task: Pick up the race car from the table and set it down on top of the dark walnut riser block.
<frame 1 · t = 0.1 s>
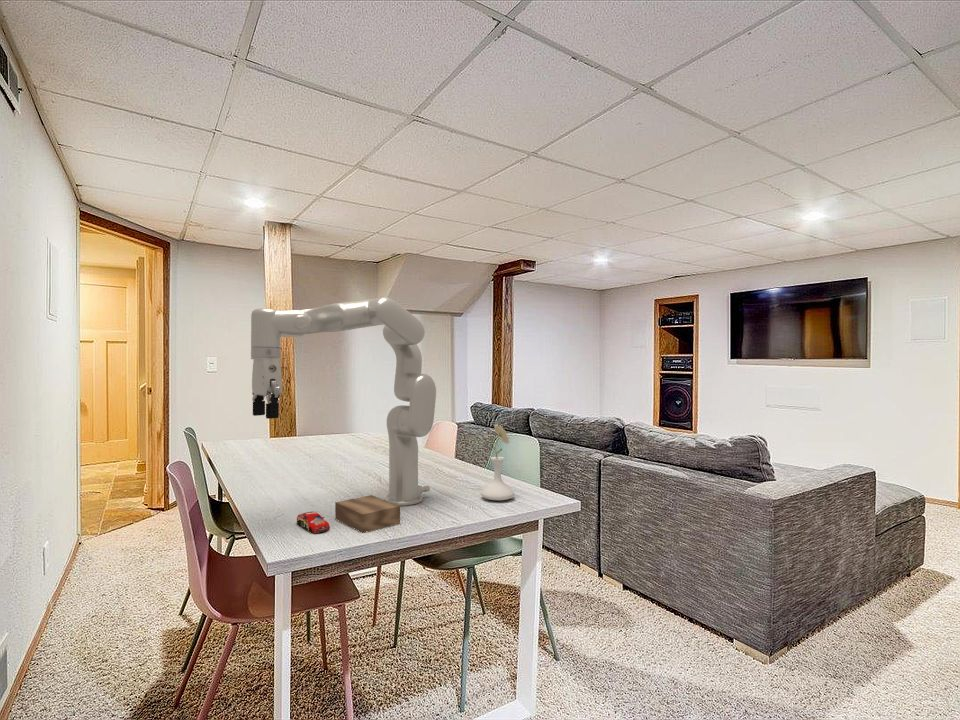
hand: (265, 416, 139), 31 cm above the table, tool pointing down, fingers open, 9 cm apart
flower in vase: (497, 498, 173), on the table
race car: (312, 529, 142), on the table
walnut riser block: (367, 521, 147), on the table
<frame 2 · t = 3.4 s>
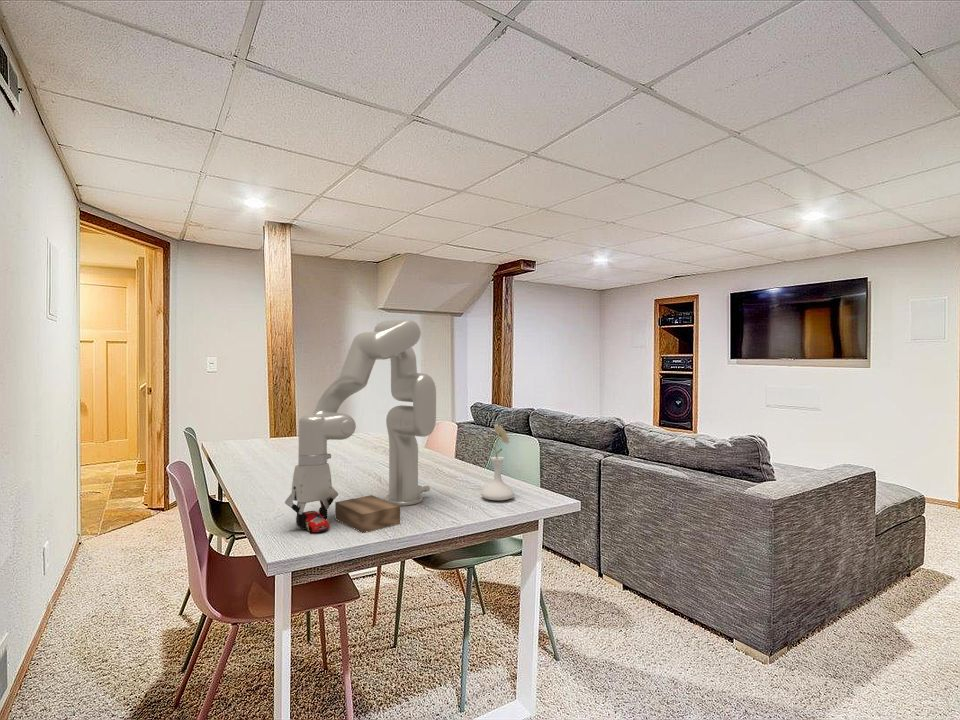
hand: (312, 524, 142), 1 cm above the table, tool pointing down, fingers closed on race car, 5 cm apart
race car: (312, 528, 142), on the table, touching gripper
everything else where it was.
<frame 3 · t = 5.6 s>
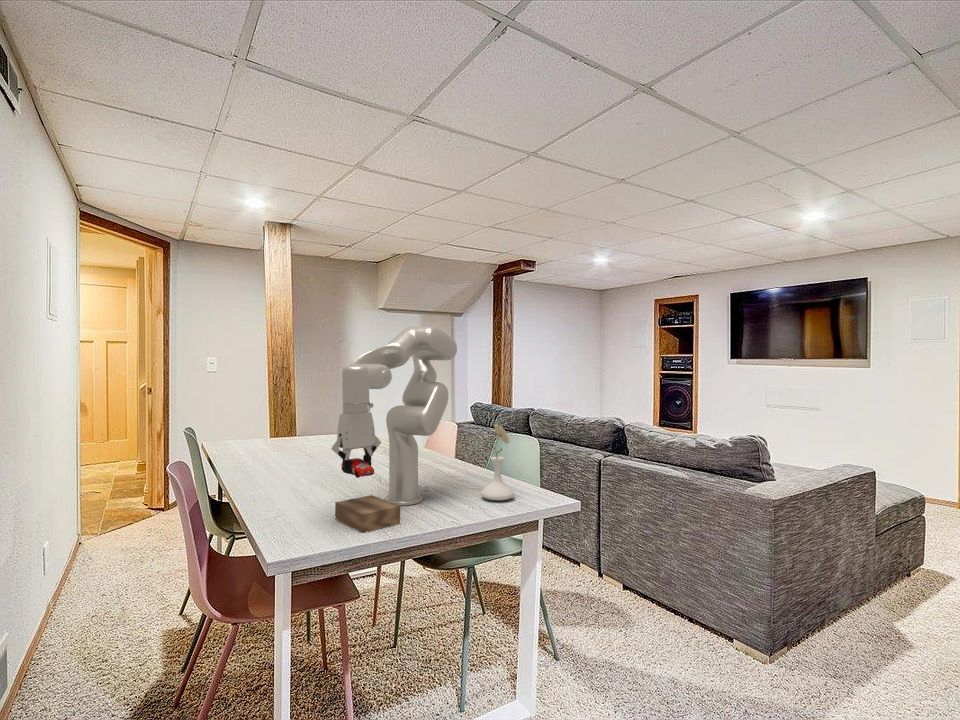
hand: (357, 470, 147), 15 cm above the table, tool pointing down, fingers closed on race car, 5 cm apart
race car: (357, 474, 147), point 14 cm above the table, touching gripper
everything else where it was.
when the fingers open (7 cm above the table, at t = 8.2 s): race car drops 1 cm, resting on walnut riser block.
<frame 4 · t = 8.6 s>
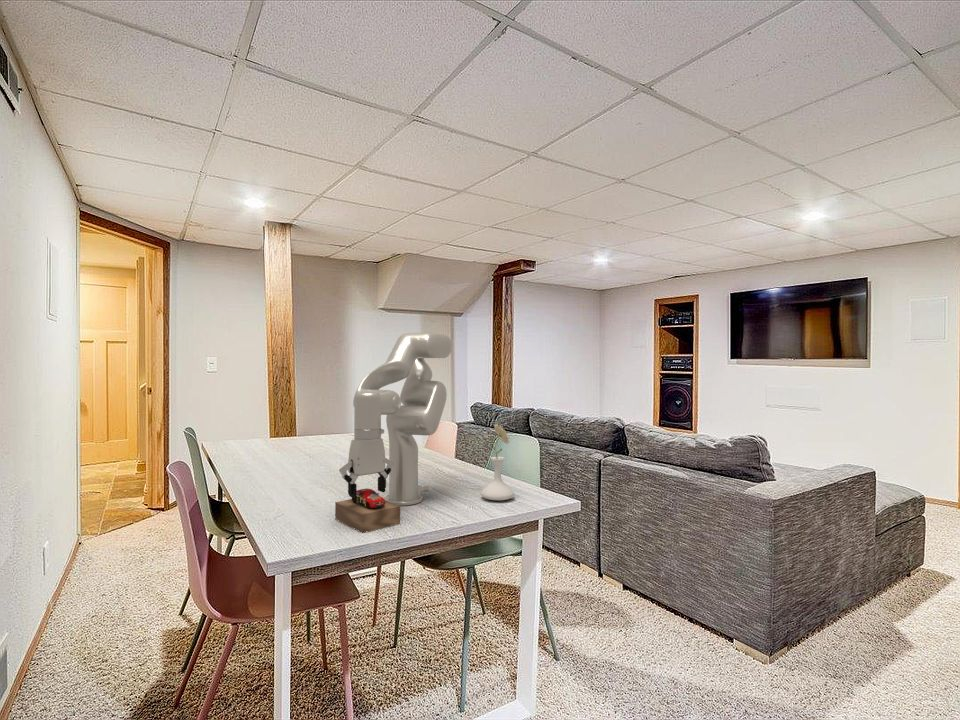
hand: (367, 494, 147), 8 cm above the table, tool pointing down, fingers open, 9 cm apart
race car: (367, 505, 147), point 5 cm above the table, touching walnut riser block
everything else where it was.
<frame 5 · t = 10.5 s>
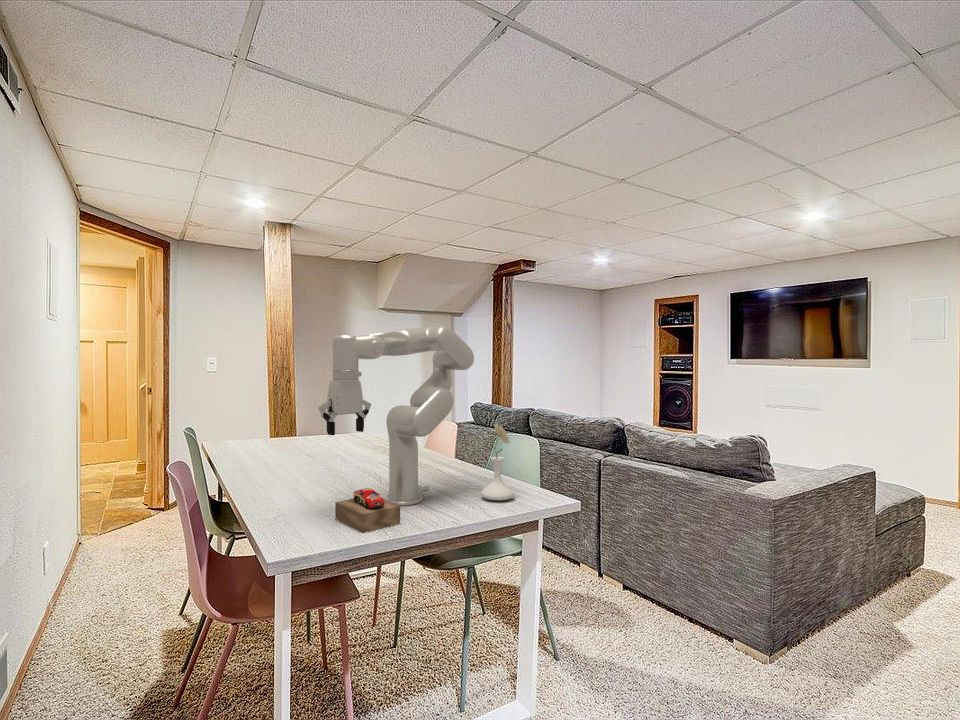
hand: (345, 433, 153), 25 cm above the table, tool pointing down, fingers open, 9 cm apart
nothing on the table moved.
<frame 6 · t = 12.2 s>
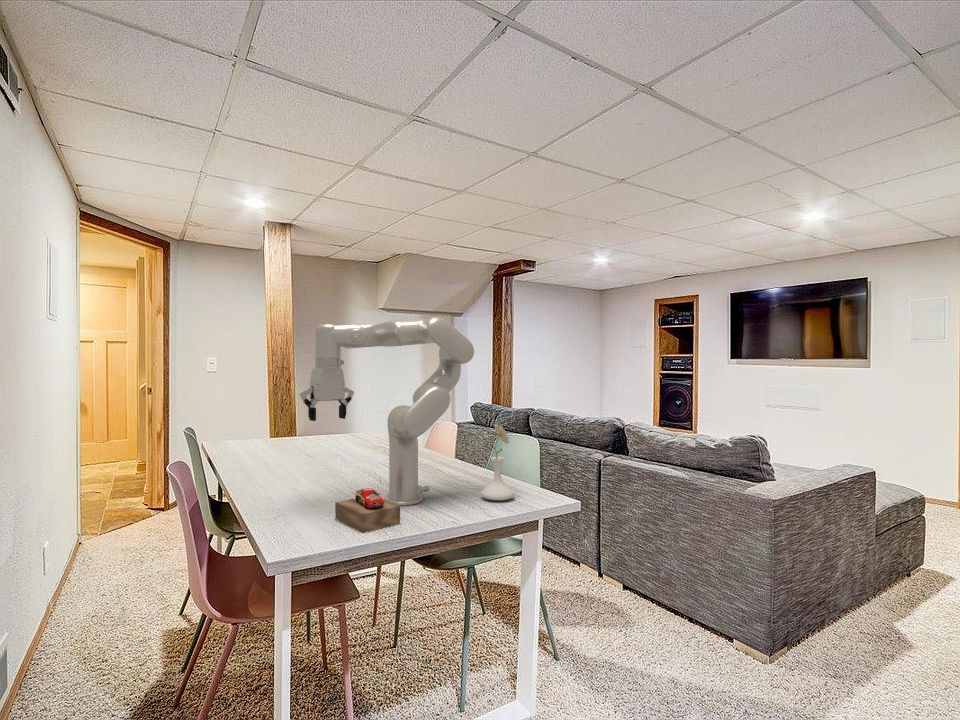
hand: (327, 419, 158), 28 cm above the table, tool pointing down, fingers open, 9 cm apart
nothing on the table moved.
at the end: race car 0.5 cm off-centre on the walnut riser block, point 4.8 cm above the walnut riser block's base; race car tilted 0°; the gripper is holding nothing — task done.
